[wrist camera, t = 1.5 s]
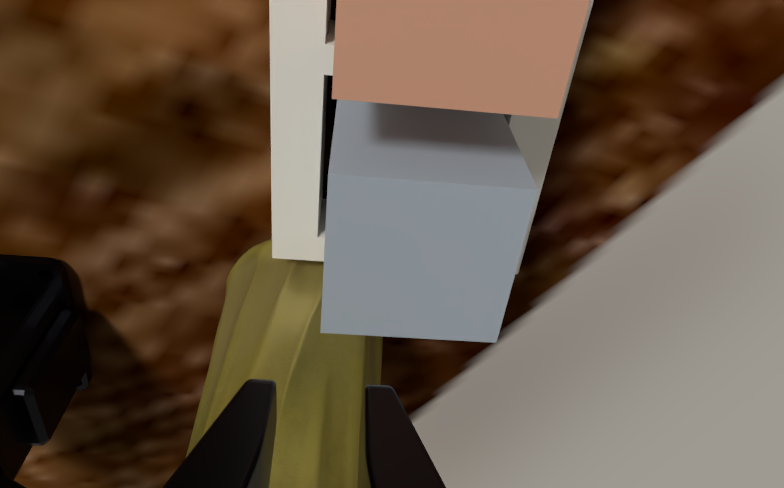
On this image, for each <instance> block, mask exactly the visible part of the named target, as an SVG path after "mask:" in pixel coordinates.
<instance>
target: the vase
mask: <svg viewBox="0 0 784 488" xmlns="http://www.w3.org/2000/svg"><path fill="white" fill-rule="evenodd" d="M323 268H324V261H308V260H293V259H278V258H272V239H270V240H267V241H265V242H262V243H260V244H258V245H255V246H254V247H252V248H251V249H249V250H248V251H247V252H246V253H244V254H243V255H242V256H241V257H240V259H239V260H238V261H237V262H236V263H235V265H234V266H233V268H232V269H231V271H230V273H229V275H228V278H227V282H226V290H225V292H226V297H225V302H224V306H223V310H222V314H221V317H220V321H219V325H218V328H217V333H216V337H215V341H214V346H213V351H212V356H211V360H210V365H209V369H208V373H207V377H206V381H205V384H204V388H203V392H202V396H201V399H200V403H199V407H198V411H197V415H196V419H195V423H194V427H193V431H192V435H191V439H190V443H189V447H188V451H187V454H186V457H187V456H188V454H189V453H190V452H191V451H192V449H193V448H194V447H195V445H196V444H197V443H198V442H199V440H200V439H201V438H202V436H203V435H204V434H205V433H206V431H207V430H208V429H209V428H210V426H211V425H212V424H213V422H214V421H215V420H216V419H217V417H218V416H219V415H220V413H221V412H222V411H223V410H224V408H225V407H226V406H227V404H228V403H229V402H230V401H231V399H232V398H233V397H234V395H235V394H236V393H237V392H238V390H239V389H240V388H241V387H242V385H243V384H244V383H245V382H246V381H247V380H249V379H268V380H273V381H275V383H276V392H277V421H276V433H275V441H274V450H273V458H272V466H271V474H270V483H269V488H357V481H358V456H359V432H360V420H361V411H362V402H363V393H364V388H365V387H366V386H367V385H380V381H381V364H382V342H383V336H368V335H350V334H332V333H320V330H321V309H322V289H323Z"/></svg>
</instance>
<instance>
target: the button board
mask: <svg viewBox="0 0 784 488" xmlns="http://www.w3.org/2000/svg"><path fill="white" fill-rule="evenodd" d="M593 1H594V0H590V3H589V7H588V10H587V14H586V18H585V21H584V25H583V29H582V32H581V36H580V39H579V43H578V47H577V50H576V54H575V58H574V61H573V65H572V69H571V72H570V76H569V80H568V83H567V87H566V91H565V94H564V98H563V102H562V105H561V109H560V113H559V116H558V119H557V118H545V117H534V116H522V115H511V114H504V116H505V119H506V121H507V123H508V125H509V127H510V129H511V132H512V134H513V136H514V138H515V140H516V143H517V145H518V147H519V149H520V151H521V153H522V156H523V158H524V160H525V162H526V164H527V166H528V169H529V171H530V173H531V175H532V177H533V180H534V182H535V184H536V186H537V188H538V193H537V197H536V200H535V204H534V208H533V211H532V215H531V219H530V222H529V226H528V229H527V233H526V237H525V240H524V244H523V248H522V251H521V255H520V259H519V262H518V266H517V270H516V273H515V274H518V272H519V269H520V265H521V261H522V258H523V254H524V250H525V247H526V243H527V240H528V236H529V232H530V229H531V225H532V222H533V218H534V214H535V211H536V207H537V203H538V200H539V196H540V193H541V189H542V185H543V182H544V178H545V175H546V171H547V167H548V164H549V160H550V157H551V153H552V149H553V146H554V142H555V138H556V135H557V131H558V128H559V124H560V120H561V117H562V113H563V110H564V106H565V102H566V99H567V95H568V91H569V88H570V84H571V81H572V77H573V73H574V70H575V66H576V63H577V59H578V55H579V52H580V48H581V45H582V41H583V37H584V34H585V30H586V26H587V23H588V19H589V16H590V12H591V8H592V5H593ZM269 7H270V99H271V191H272V258H278V259H293V260H308V261H324V248H325V227H326V206H327V199H322V197H323V174H324V151H325V128H326V106H327V83H328V75H331V76H333V63H334V42H335V21H336V20H330V14H331V0H269Z"/></svg>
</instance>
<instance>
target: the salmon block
mask: <svg viewBox="0 0 784 488" xmlns="http://www.w3.org/2000/svg"><path fill="white" fill-rule="evenodd" d="M589 3H590V0H337V1H336V21H335V42H334V63H333V83H332V99H339V100H351V101H362V102H374V103H385V104H396V105H408V106H419V107H431V108H442V109H454V110H465V111H477V112H488V113H499V114H511V115H522V116H534V117H545V118H557V119H558V116H559V113H560V109H561V105H562V102H563V98H564V94H565V91H566V87H567V83H568V80H569V76H570V72H571V69H572V65H573V61H574V58H575V54H576V50H577V47H578V43H579V39H580V36H581V32H582V29H583V25H584V21H585V18H586V14H587V10H588V7H589Z"/></svg>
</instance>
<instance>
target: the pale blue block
mask: <svg viewBox="0 0 784 488" xmlns="http://www.w3.org/2000/svg"><path fill="white" fill-rule="evenodd" d="M537 193H538V188H537V186H536V184H535V182H534V180H533V177H532V175H531V173H530V171H529V169H528V166H527V164H526V162H525V160H524V158H523V156H522V153H521V151H520V149H519V147H518V145H517V143H516V140H515V138H514V136H513V134H512V132H511V129H510V127H509V125H508V123H507V121H506V119H505V116H504V114H499V113H488V112H477V111H465V110H454V109H442V108H431V107H419V106H408V105H396V104H385V103H374V102H362V101H351V100H339V99H337V105H336V113H335V122H334V130H333V138H332V146H331V154H330V162H329V170H328V186H327V206H326V227H325V248H324V268H323V289H322V309H321V330H320V333H332V334H350V335H368V336H385V337H403V338H421V339H439V340H457V341H475V342H493V343H497V339H498V335H499V332H500V328H501V324H502V321H503V317H504V314H505V310H506V306H507V303H508V299H509V295H510V292H511V288H512V284H513V281H514V277H515V273H516V270H517V266H518V262H519V259H520V255H521V251H522V248H523V244H524V240H525V237H526V233H527V229H528V226H529V222H530V219H531V215H532V211H533V208H534V204H535V200H536V197H537Z"/></svg>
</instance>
